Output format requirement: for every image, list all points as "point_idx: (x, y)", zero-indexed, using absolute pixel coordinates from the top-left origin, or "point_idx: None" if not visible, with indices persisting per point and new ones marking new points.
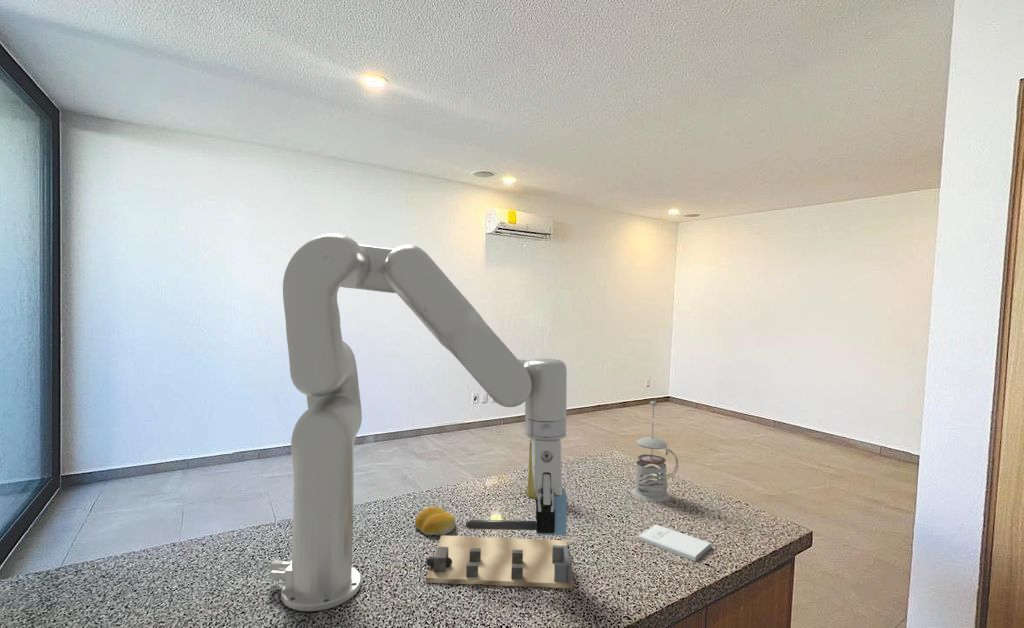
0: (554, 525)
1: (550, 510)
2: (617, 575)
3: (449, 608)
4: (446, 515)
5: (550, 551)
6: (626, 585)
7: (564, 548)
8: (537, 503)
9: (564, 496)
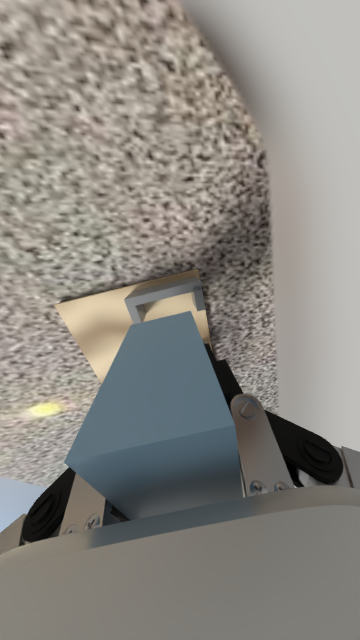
0: (213, 354)
1: (270, 413)
2: (125, 183)
3: (261, 387)
4: None
5: (110, 323)
6: (157, 159)
7: (137, 303)
8: None
9: (230, 434)
